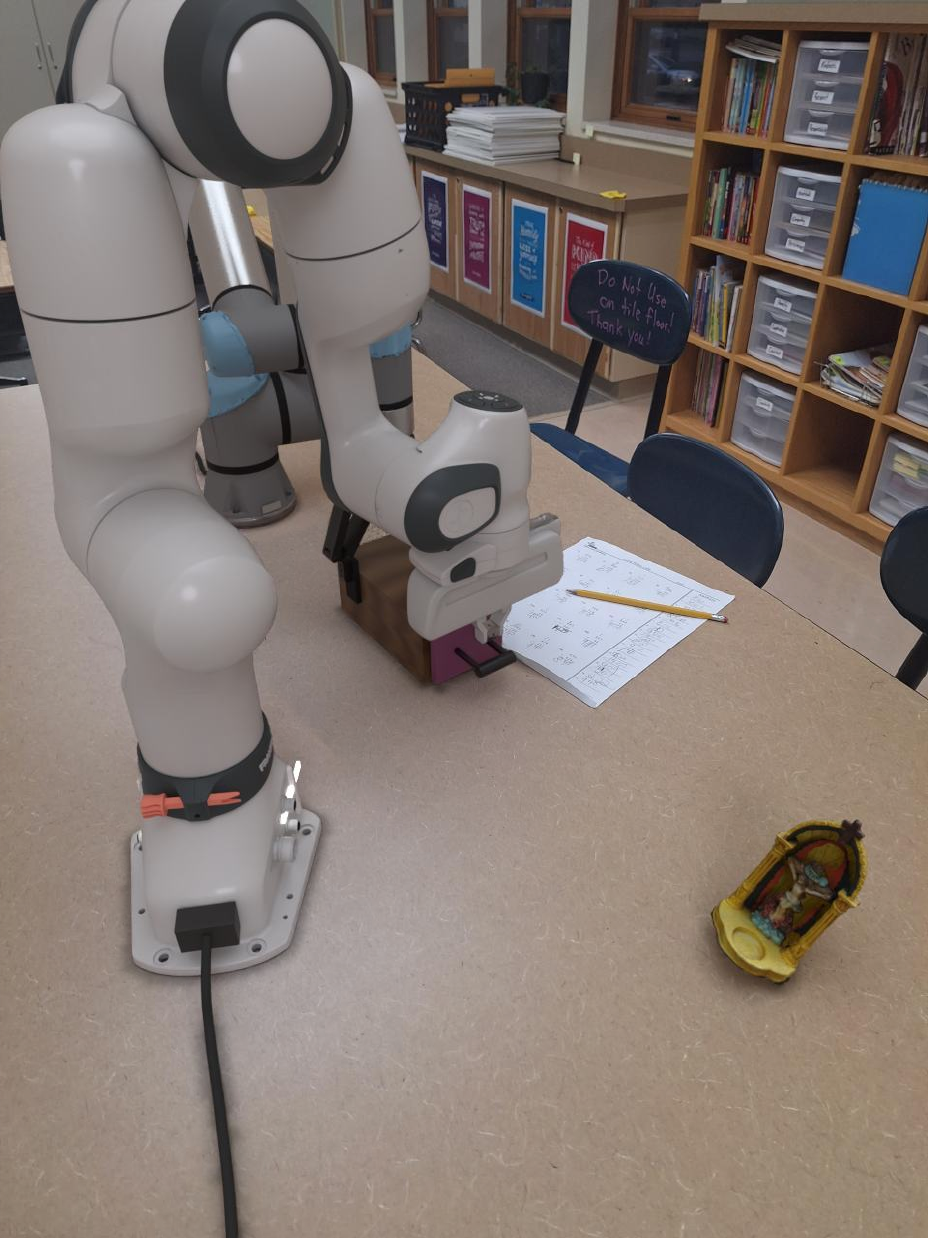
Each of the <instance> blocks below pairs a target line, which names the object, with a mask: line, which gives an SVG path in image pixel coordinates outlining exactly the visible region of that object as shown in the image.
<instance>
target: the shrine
mask: <svg viewBox="0 0 928 1238" xmlns="http://www.w3.org/2000/svg"><path fill="white" fill-rule="evenodd" d="M862 827H863V823H862V822H861V821H860V820H859V819H857V818H856V819H854V821H853V822H851V821H850V820H848V819H843V820H842V821H841V820H837V819H836V820H835V819H834V820H833V819H827V818H826V819H821V818H820V819H819V818H818V819H810V820H807V821H804V822H801V823H798V824H796V825H795V826H793V827H792V828H790V829H789V830H787V831H783V830H782V831H779V832H778V833H777V834H776V837H775V838H774V842H775V843H774V844H773V845H771V847H772V848H771V849H770V851H769V852H767V853H766V855H765V856H764V858H762V859H761V861H760V862H759V863H758V864H757V866H756V867H755V868H754V869H753V870H752V871H751V872H750V874H749V875H748V876H747V877H746V878H744V879H743V881H742V882H741V884H740V885H739V886H738V887H736V889H735V891H733V892H732V893H730V895H728V896H727V897H725V898H724V899H722V900H721V901H719V903H718V905H716V906H714V908H713V909H712V911H710V918H711V922H712V924H713V927H714V930H715V934H716V935H715V936H716V938H717V941H716V942H717V944H718V946H719V948H720V949H721V951H722V952H723V953H724V955H725V957H727V958H728V959H729V960H730V962H731V963H733V965H735V966H736V967H737V968H738V969H739V970H741V971H744V972H746V973H747V974H749V975H750V976H751V977H754V978H760V979H767V980H770V981H772V983H773V985H775V986H783V985H784V984H785V983H788V982H789V981H790V980H791V976H792V975H794V973H796V972H797V968H798V964H799V962H800V960H801V959H803V958H804V956H805V955H806V953H807V952H809V951H810V950H811V949H812V947H813V945H814V943H816V941H817V940H818V939H819V938H820V937H821V936H822V935H823V934H824V932H825V931H827V929H828V928H830V926H832V925H834V922H836V921H837V919H839V918H840V917H841V916H842V915H844V914H845V913H847V912H848V910H849V909H856V908H857V907H858V906H860V905H861V900H860V898H859V897H858V896H859V894H860V893H861V890H862V889H863V887H864V885H865V882H866V880H867V875H868V855H867V851H866V847H865V843H864V840H863V839H864V838H865V837H866V834H865V833H863V831H862Z"/></svg>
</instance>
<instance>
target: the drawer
mask: <svg viewBox="0 0 928 1238" xmlns="http://www.w3.org/2000/svg"><path fill="white" fill-rule="evenodd" d="M490 617H491V614H490V615H487V619H486V621H487V620H489V619H490ZM482 623H483V622H482ZM517 660H518V659H517V655H516V653H515V652H514V651H513V650H512V649H508V650H506V649H505V648H503V635H501V636H499V637H496V638H494V639H492V640H490V641H488V642H486V643H484V644H482V643H480V642H479V641H478V640H477V639H476V637H475V627H474V626H473V625H472V624H471V623H470V624H468V625H465V626H463V627H461V628H459V629H457V630H454V631H452V632H450V633H448V634H446V635H443V636H441V637H439V638H437V639H435V640H432V641H430V667H431V674H432V681H431V682H433V683H434V684H435V685H439V684H441V683H443V682H444V683H445V682H446V681H448V680H450V679H453V678H454V677H457V676H459V675H461V674H462V673H464V672H467V671H469V670H471V669H473V670H474V674H475V676H476V677H477V678H478V679H483V678H485V677H488V676H490V675H492V674H493V673H496V672H498V671H500V670H502V669H504V668H506V667H509V666H511V665H512V664H515V663H516V662H517Z"/></svg>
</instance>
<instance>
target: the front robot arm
mask: <svg viewBox="0 0 928 1238" xmlns="http://www.w3.org/2000/svg"><path fill="white" fill-rule="evenodd" d="M64 60H65V61H64V65H63V68H62V71H61V75H60V78H59V81H58V85H57V86H56V91H55V104H53V105H48V106H44V107H42V108H38V109H36V110H34V111H32V112H30V113H27V114H26V115H23V116H22V117H21V118H19V119H18V120H17V121H15V122H14V123H13V124H12V125H11V126H10V127H9V128H8V130H7V131H6V133H5V134H4V136H3V138H2V141H1V144H0V200H1V213H2V223H3V230H4V238H5V245H6V251H7V258H8V262H9V267H10V268H9V269H10V273H11V279H12V283H13V287H14V292H15V296H16V300H17V305H18V309H19V312H20V315H21V316H20V317H21V320H22V324H23V328H24V332H25V337H26V340H27V344H28V349H29V352H30V353H29V354H30V357H31V361H32V364H33V368H34V372H35V377H36V380H37V385H38V389H39V393H40V397H41V401H42V404H43V408H44V414H45V418H46V423H47V429H48V436H49V444H50V457H51V458H50V459H51V460H50V461H51V475H52V485H53V492H54V500H53V512H54V513H53V514H54V519H55V523H56V526H57V530H58V533H59V536H60V540H61V543H62V545H63V548H64V550H65V553H66V555H67V556H68V558H69V559H70V561H71V562H72V563H73V564H74V566H75V567H76V568H77V569H78V571H79V572H80V573H81V575H82V576H83V577H84V578H85V579H86V580H87V582H88V583H89V584H90V586H91V587H92V588H93V589H94V591H95V592H96V594H97V596H98V597H99V598H100V600H101V601H102V602H103V604H104V606H105V607H106V609H107V611H108V612H109V614H110V616H111V618H112V620H113V622H114V624H115V626H116V628H117V631H118V633H119V636H120V639H121V642H122V646H123V651H124V657H125V658H124V659H125V668H124V669H123V672H122V675H121V680H120V684H121V685H120V687H121V691H122V694H123V697H124V700H125V703H126V707H127V710H128V714H129V717H130V721H131V724H132V727H133V730H134V733H135V737H136V741H137V743H136V744H137V745H136V756H137V758H136V759H137V762H136V763H137V772H138V778H137V780H136V782H135V783H136V785H137V788H138V791H139V807H140V810H139V811H140V828H139V829H137V830H136V831H135V832H134V833H133V834H132V836H131V838H130V916H131V917H130V924H131V925H130V926H131V927H130V928H131V931H130V933H131V934H130V935H131V955H132V960H133V963H134V965H136V966H137V967H139V968H140V969H143V970H146V971H148V972H150V973H153V974H160V975H164V976H174V977H175V976H176V977H194V976H200V1000H201V1003H200V1004H201V1013H202V1024H203V1033H204V1042H205V1050H206V1051H205V1052H206V1059H207V1066H208V1067H207V1068H208V1073H209V1074H208V1075H209V1080H210V1087H211V1096H212V1102H213V1111H214V1112H213V1113H214V1121H215V1130H216V1139H217V1148H218V1157H219V1167H220V1175H221V1176H220V1177H221V1187H222V1197H223V1211H224V1228H225V1229H224V1230H225V1232H224V1233H225V1238H239V1226H238V1225H239V1224H238V1210H237V1199H236V1189H235V1188H236V1186H235V1177H234V1167H233V1159H232V1152H231V1144H230V1134H229V1127H228V1126H229V1125H228V1118H227V1111H226V1103H225V1095H224V1090H223V1089H224V1087H223V1082H222V1081H223V1080H222V1075H221V1074H222V1073H221V1069H220V1068H221V1067H220V1062H219V1055H218V1046H217V1039H216V1030H215V1021H214V1012H213V1001H212V999H213V998H212V975H216V974H222V973H223V974H224V973H228V972H234V971H238V970H243V969H246V968H250V967H253V966H256V965H258V964H261V963H264V962H266V961H268V960H271V959H272V958H274V957H276V956H278V955H280V954H281V953H282V952H284V951H285V950H287V949H288V948H289V947H290V945H291V944H292V942H293V941H292V940H293V937H294V934H295V930H296V927H297V924H298V920H299V916H300V912H301V908H302V905H303V902H304V897H305V893H306V889H307V886H308V882H309V878H310V874H311V871H312V867H313V864H314V860H315V857H316V853H317V850H318V846H319V841H320V838H321V834H322V828H323V825H322V822H321V818H320V817H319V816H318V815H317V814H316V813H315V812H312V811H310V810H309V809H306V808H303V805H302V802H301V796H300V792H299V788H298V783H297V781H298V778H299V774H300V770H301V761H300V760H296V762H295V766H294V768H293V766H291V765H290V764H289V763H288V762H287V761H286V760H284V759H283V758H281V757H280V756H279V755H278V753H276V752H275V749H274V739H273V738H274V737H273V732H272V728H271V726H270V723H269V720H268V718H267V715H266V714H265V712H264V710H263V709H262V706H261V700H260V694H259V688H258V683H257V677H256V671H255V664H254V652H255V651H256V649H258V648H259V646H261V644H262V643H263V642H264V641H265V639H266V638H267V636H268V635H269V633H270V631H271V629H272V627H273V625H274V622H275V620H276V616H277V611H278V605H279V603H278V602H279V598H278V597H279V596H278V590H277V586H276V583H275V581H274V579H273V576H272V575H271V573H270V572H269V569H268V568H267V566H266V564H265V562H264V561H263V559H262V557H261V556H260V554H259V552H258V551H257V550H256V548H255V547H254V545H253V543H252V542H251V541H250V539H248V537H247V536H246V535H245V534H244V533H243V532H241V530H240V529H239V528H236V527H234V526H233V525H232V524H231V523H230V522H229V521H227V520H226V519H225V518H224V517H223V516H222V515H221V514H219V513H218V512H217V511H216V510H215V509H214V508H212V507H211V505H210V504H209V503H208V502H207V500H206V498H205V496H204V494H203V493H204V492H203V491H202V489H201V486H200V483H199V480H198V476H197V471H196V457H195V454H196V452H197V442H198V434H199V430H200V426H201V425H202V424H203V422H204V421H205V419H206V418H207V416H208V413H209V409H210V394H209V387H208V380H207V373H206V372H207V367H206V357H205V352H204V347H203V343H202V337H201V330H200V317H199V310H198V309H199V308H198V302H197V295H196V289H195V284H194V276H193V271H192V266H191V261H190V256H189V251H188V246H187V242H188V229H189V222H188V219H189V213H190V208H191V204H192V201H193V198H194V195H195V192H196V190H197V188H198V186H199V184H200V181H199V180H198V179H196V178H199V179H203V180H210V181H218V182H228V183H231V184H234V185H237V186H241V188H247V189H257V190H258V189H259V190H262V193H263V195H264V196H265V198H266V201H267V200H268V202H269V204H270V206H271V208H272V210H273V214H274V217H275V221H276V225H277V228H278V232H279V235H280V238H281V242H282V245H283V248H284V251H285V255H286V258H287V261H288V264H289V268H290V271H291V274H292V278H293V282H294V285H295V290H296V295H297V303H296V322H297V329H298V335H299V341H300V345H301V350H302V355H303V359H304V363H305V367H306V372H307V376H308V380H309V384H310V388H311V393H312V397H313V401H314V405H315V409H316V413H317V418H318V422H319V427H320V436H321V439H320V455H319V472H320V481H321V486H322V489H323V491H324V493H325V496H326V497H327V498H328V499H329V501H330V502H331V503H332V504H333V505H336V506H337V507H338V508H340V509H342V510H344V511H347V512H349V513H351V515H352V514H353V515H355V516H358V517H360V518H363V519H365V520H366V521H368V522H370V524H372V525H373V526H374V527H377V528H378V529H380V530H381V531H383V532H385V533H387V535H389V534H390V535H392V536H394V537H396V538H398V539H399V540H401V541H403V542H404V543H406V544H408V545H410V546H412V547H411V549H410V551H409V559H410V562H411V563H412V564H413V565H414V566H415V567H416V568H415V569H414V570H413V571H412V573H411V575H410V577H409V580H408V587H407V615H408V622H409V624H410V626H411V627H412V628H413V629H414V630H415V631H416V632H417V633H418V634H419V635H421V636H422V637H424V638H425V639H427V640H429V641H432V640H435V639H437V638H439V637H441V636H443V635H446V634H448V633H450V632H452V631H454V630H457V629H459V628H461V627H463V626H465V625H468V624H470V623H471V624H472V625H473V626H474V627H475V637H476V639H477V640H478V641H479V642H480V643H482V644H484V643H486V642H488V641H490V640H492V639H494V638H496V637H499V636H501V635H502V636H503V635H504V624H505V623H506V621H507V619H508V617H509V616H510V614H511V611H512V609H513V608H512V607H513V605H514V604H516V603H519V602H520V601H523V600H525V599H527V598H529V597H531V596H534V595H535V594H538V593H540V592H542V591H545V590H547V589H549V588H552V587H553V586H555V585H558V584H559V583H560V582H561V579H562V578H563V576H564V571H565V570H564V569H565V564H564V562H565V561H564V550H563V541H562V538H561V533H562V532H561V531H562V521H561V519H560V517H559V516H558V515H556V514H552V512H544V513H542V514H540V515H539V516H537V517H534V518H531V509H530V508H531V507H530V503H529V500H528V489H529V486H530V483H531V479H532V455H533V454H532V434H531V433H532V432H531V425H530V421H529V415H528V413H527V411H526V408H525V406H524V405H523V404H522V403H520V401H518V400H517V399H515V398H512V397H510V396H507V395H505V394H502V393H499V392H497V391H489V390H484V389H483V390H482V389H469V390H464V391H461V392H458V393H455V394H454V395H453V396H452V397H451V400H450V403H449V408H448V412H447V414H446V415H445V417H444V418H443V420H442V421H441V423H440V424H439V426H438V427H437V428H436V429H435V430H434V431H433V432H432V434H430V436H428V437H427V438H425V440H424V441H420V440H418V439H416V438H415V439H414V438H412V437H409V436H407V435H405V434H404V433H402V432H401V431H399V430H398V429H397V428H396V427H394V426H393V425H392V424H391V423H390V422H389V421H388V420H387V419H386V418H385V417H384V415H383V414H382V412H381V410H380V408H379V404H378V398H377V393H376V387H375V381H374V375H373V369H372V363H371V358H370V351H369V346H370V345H371V344H374V343H376V342H379V341H381V340H383V339H385V338H387V337H389V336H390V335H392V334H394V333H396V332H397V331H399V330H400V329H402V328H403V327H404V326H406V325H407V324H408V323H409V322H410V323H411V321H412V320H414V318H415V317H416V315H417V314H418V313H419V311H420V310H421V308H422V307H423V305H424V304H425V301H426V299H427V297H428V294H429V292H430V288H431V279H432V278H431V276H432V275H431V274H432V273H431V272H432V271H431V270H432V269H431V267H432V266H431V265H432V264H431V254H430V247H429V242H428V237H427V233H426V228H425V222H424V217H423V214H422V209H421V204H420V201H419V200H420V199H419V196H418V192H417V187H416V184H415V180H414V177H413V173H412V169H411V165H410V161H409V159H408V157H407V153H406V150H405V147H404V144H403V141H402V138H401V136H400V132H399V129H398V127H397V124H396V121H395V119H394V116H393V114H392V111H391V108H390V106H389V104H388V101H387V99H386V96H385V94H384V92H383V90H382V88H381V86H380V85H379V83H378V82H377V81H376V80H375V79H374V77H372V76H371V74H370V73H368V72H367V71H366V70H364V69H363V68H361V67H359V66H357V65H354V64H351V63H349V62H345V61H340V60H339V58H338V55H337V52H336V51H335V49H334V46H333V45H332V43H331V41H330V38H329V37H328V35H327V33H326V32H325V31H324V29H323V28H322V26H321V25H320V23H319V22H318V20H317V19H316V18H315V17H314V16H313V14H312V13H311V12H310V11H309V9H307V7H305V5H303V4H302V3H300V2H299V1H298V0H85V1H84V2H83V3H82V4H81V6H80V8H79V10H78V11H77V13H76V15H75V18H74V20H73V22H72V24H71V28H70V30H69V35H68V39H67V45H66V51H65V59H64ZM490 614H491V617H490V619H489V620H487V621H486V619H487V615H490ZM482 622H483V623H482ZM257 949H258V951H256V952H255V950H257ZM259 949H260V950H259ZM165 959H167V960H165ZM163 960H165V961H163ZM162 961H163V962H162Z"/></svg>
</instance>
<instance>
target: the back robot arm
mask: <svg viewBox="0 0 928 1238" xmlns="http://www.w3.org/2000/svg"><path fill="white" fill-rule="evenodd" d="M196 179H198V180H199V181H200V184H199V186H198V188H197V190H196V192H195V195H194V198H193V201H192V204H191V208H190V213H189V219H188V227H189V229H190V234H191V237H192V242H193V245H194V249H195V252H196V253H195V254H196V256H197V260H198V264H199V269H200V271H201V275H202V279H203V283H204V287H205V291H206V294H207V297H208V302H209V306H210V310H211V312H206V313H203V314H201V316H200V317H199V323H200V330H201V337H202V344H203V351H204V357H205V362H206V364H207V367H208V369H209V370H206V373H207V380H208V387H209V394H210V409H209V413H208V416H207V418H206V419H205V421H204V422H203V424H202V425H201V426H200V427H199V430H200V436H201V441H202V448H203V453H204V459H205V464H206V468H205V466H204V462H203V460H202V457H201V455H200V453H199V452H198V451H196V454H195V460H196V461H197V465H198V468H199V471H200V472H201V473H202V474H203V475H204V476H205V480H204V486H203V492H202V493H203V494H204V496H205V498H206V500H207V502H208V503H209V504H210V505H211V507H212V508H214V509H215V510H216V511H217V512H218V513H219V514H221V515H222V516H223V517H224V518H225V519H226V520H227V521H229V522H230V523H231V524H232V525H233V526H234V527H236V528H237V529H249V528H257V527H262V526H266V525H270V524H273V523H275V522H278V521H280V520H282V519H284V518H286V517H288V516H289V515H290V514H291V513H292V512H293V511H294V510H295V508H296V506H297V494H296V489H295V488H294V486H293V484H292V481H291V480H290V479H291V478H289V475H288V473H287V471H286V469H285V468H284V466H283V464H282V462H281V459H280V452H279V447H280V446H285V445H293V444H299V443H307V442H313V441H318V440H321V436H320V427H319V422H318V418H317V413H316V409H315V405H314V401H313V397H312V393H311V388H310V384H309V380H308V376H307V372H306V367H305V363H304V359H303V355H302V350H301V345H300V341H299V335H298V329H297V322H296V303H297V295H296V290H295V285H294V282H293V278H292V274H291V271H290V268H289V264H288V261H287V258H286V255H285V251H284V248H283V245H282V242H281V238H280V235H279V232H278V228H277V225H276V221H275V217H274V214H273V210H272V208H271V206H270V204H269V202H268V200H267V199H266V204H267V212H268V218H269V226H270V234H271V240H272V241H271V242H272V248H273V255H274V262H275V270H276V278H277V286H278V291H279V300H280V304H275V301H274V296H273V293H272V288H271V285H270V282H269V278H268V275H267V271H266V268H265V264H264V261H263V258H262V254H261V251H260V248H259V244H258V241H257V237H256V234H255V230H254V226H253V223H252V220H251V217H250V213H249V210H248V206H247V203H246V199H245V195H244V193H243V189H242V188H243V187H241V186H237V185H234V184H231V183H228V182H218V181H210V180H203V179H199V178H196ZM412 343H413V331H412V328H411V321H410V322H409V323H408V324H407V325H406V326H404V327H403V328H402V329H400V330H399V331H397V332H396V333H394V334H392V335H390V336H389V337H387V338H385V339H383V340H381V341H379V342H376V343H374V344H371V345H370V346H369V351H370V358H371V363H372V369H373V375H374V381H375V387H376V393H377V398H378V404H379V408H380V410H381V412H382V414H383V415H384V417H385V418H386V419H387V420H388V421H389V422H390V423H391V424H392V425H393V426H394V427H396V428H397V429H398V430H399V431H401V432H402V433H404V434H405V435H407V436H409V437H412V438H414V439H416V437H415V434H414V431H415V428H416V427H415V425H416V424H415V410H414V408H415V407H414V394H413V393H414V389H413V388H414V387H413V358H412V357H413V356H412V355H413V354H412V353H413V352H412ZM328 522H329V523H328V525H327V530H326V534H325V537H324V542H323V546H322V550H321V551H322V552H321V553H322V555H323V556H324V557H325V558H327V559H328V560H329V562H332V563H333V564H337V562H338V566H337V570H338V569H339V576H340V578H341V579H342V580H343V581H344V582H345V583H346V593H347V596H348V597H349V598H350V599H351V600H353V601H354V602H355V603H356V604H359V603H362V598H361V587H360V575H359V562H358V560H357V559H356V558H355V557H354V555H355V553H356V551H357V549H358V547H359V545H361V543H362V540H363V539H364V536H365V534H366V532H367V530H368V529H369V526H370V524H371V523H370V522H368V521H366V520H365V519H363V518H360V517H358V516H355V515H353V514H351V513H349V512H347V511H344V510H342V509H340V508H338V507H337V506H336V505H334V504H333V506H332V509H331V514H330V517H329V521H328ZM339 576H338V577H339Z"/></svg>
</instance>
